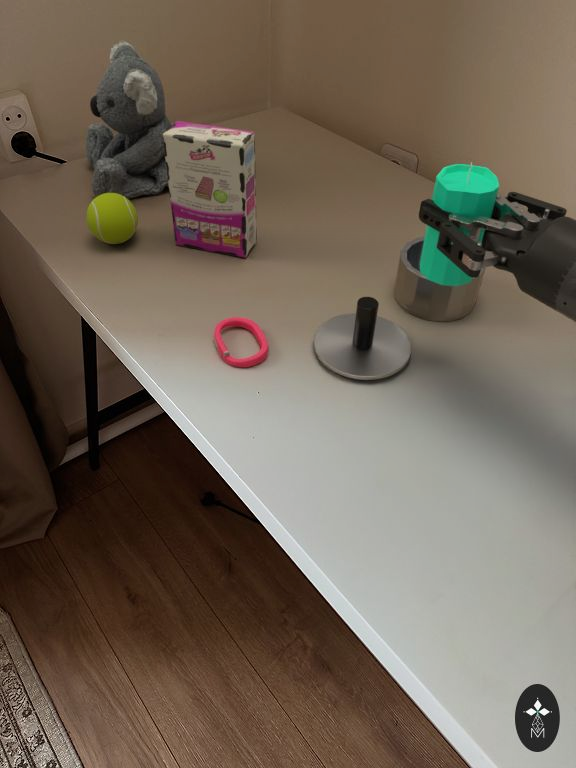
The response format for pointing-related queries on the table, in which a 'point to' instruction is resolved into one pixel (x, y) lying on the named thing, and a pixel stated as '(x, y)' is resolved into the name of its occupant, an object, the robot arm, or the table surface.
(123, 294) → the table surface
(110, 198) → the tennis ball
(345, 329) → the tin lid
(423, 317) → the tin
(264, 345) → the fitness band
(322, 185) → the table surface
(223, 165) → the candy bar box
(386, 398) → the table surface
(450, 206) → the candle
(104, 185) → the koala plush
